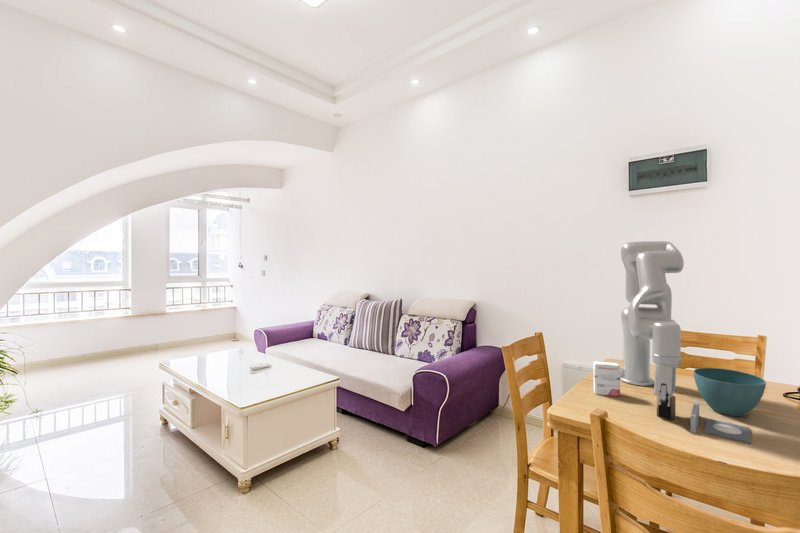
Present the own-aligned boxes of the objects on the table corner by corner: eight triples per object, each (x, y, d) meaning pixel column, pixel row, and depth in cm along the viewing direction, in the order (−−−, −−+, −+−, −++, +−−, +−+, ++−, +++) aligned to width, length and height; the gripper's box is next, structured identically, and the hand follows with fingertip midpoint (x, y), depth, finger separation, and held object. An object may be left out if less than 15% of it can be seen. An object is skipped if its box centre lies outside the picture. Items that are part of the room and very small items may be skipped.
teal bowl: (773, 428, 112) (774, 388, 112) (697, 415, 122) (697, 378, 121) (756, 407, 127) (756, 372, 127) (689, 397, 137) (690, 365, 137)
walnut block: (655, 417, 120) (655, 396, 120) (657, 412, 124) (657, 392, 124) (674, 421, 117) (674, 399, 117) (676, 416, 121) (676, 395, 121)
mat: (704, 432, 109) (704, 430, 109) (706, 419, 118) (706, 417, 118) (750, 443, 103) (750, 441, 103) (749, 429, 112) (749, 427, 112)
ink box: (617, 392, 143) (617, 362, 143) (620, 397, 138) (620, 365, 138) (592, 390, 146) (592, 360, 146) (595, 394, 141) (595, 363, 141)
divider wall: (690, 431, 110) (690, 415, 110) (694, 415, 122) (694, 400, 122) (695, 433, 109) (695, 416, 109) (699, 416, 121) (699, 400, 121)
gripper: (656, 352, 129) (656, 404, 129) (648, 363, 116) (647, 419, 117) (683, 356, 124) (682, 409, 124) (677, 367, 111) (677, 426, 112)
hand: (665, 414), depth 120 cm, fingers closed on walnut block, 5 cm apart
